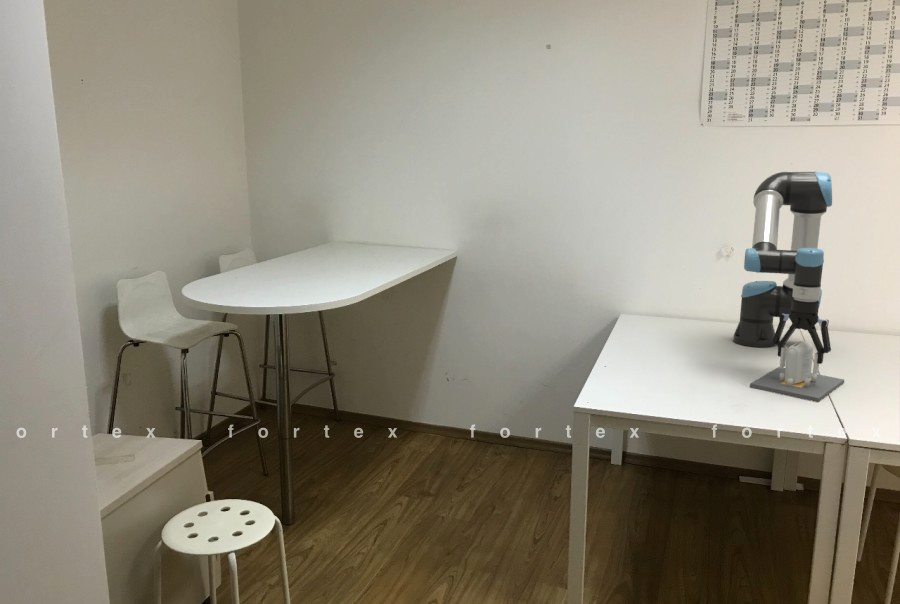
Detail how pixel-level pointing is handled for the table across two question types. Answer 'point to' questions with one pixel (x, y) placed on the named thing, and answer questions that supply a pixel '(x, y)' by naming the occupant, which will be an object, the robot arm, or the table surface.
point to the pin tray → (797, 385)
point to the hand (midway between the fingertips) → (798, 370)
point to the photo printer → (799, 362)
